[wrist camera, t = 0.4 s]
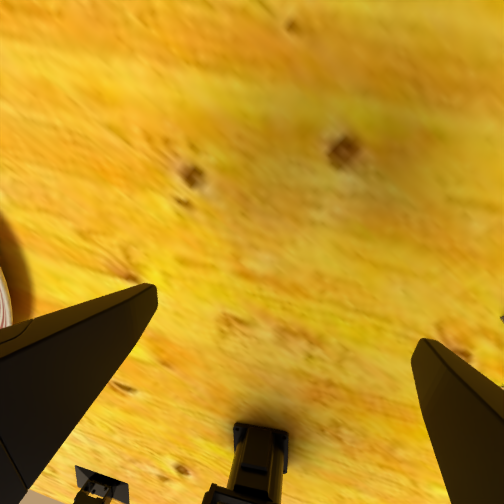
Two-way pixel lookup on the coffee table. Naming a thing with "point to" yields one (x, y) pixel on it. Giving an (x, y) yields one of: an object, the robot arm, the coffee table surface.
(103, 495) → the black boxy piece
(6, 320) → the dinner plate
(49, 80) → the coffee table surface
